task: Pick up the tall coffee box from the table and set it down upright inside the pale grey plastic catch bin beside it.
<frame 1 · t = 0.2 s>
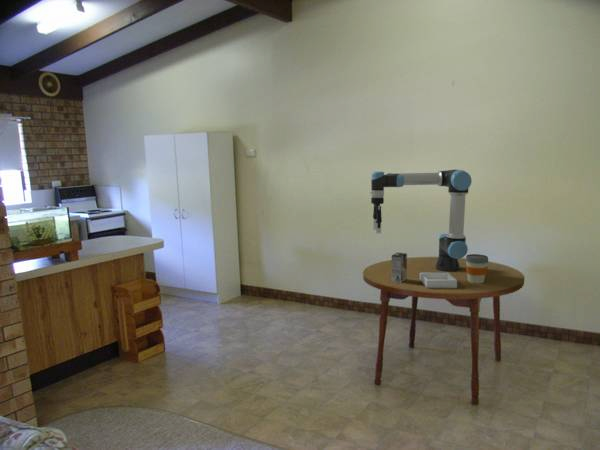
hand: (377, 231, 296), 28 cm above the table, tool pointing down, fingers open, 13 cm apart
coffee box: (398, 280, 287), on the table
catch bin: (437, 283, 279), on the table
reusable coffee cup: (475, 281, 284), on the table
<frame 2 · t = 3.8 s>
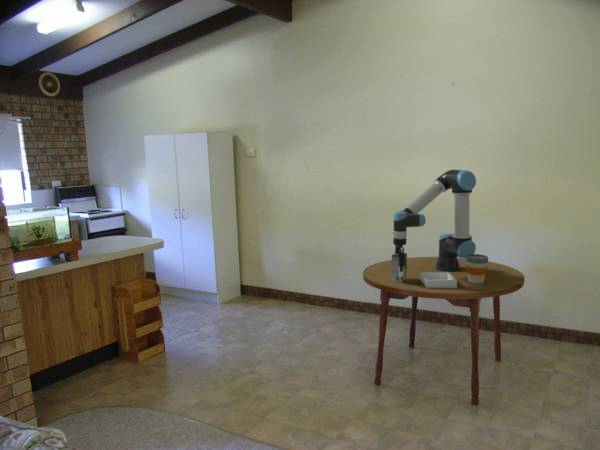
hand: (399, 274, 287), 4 cm above the table, tool pointing down, fingers closed on coffee box, 10 cm apart
coffee box: (398, 280, 287), on the table, touching gripper
everything else where it was.
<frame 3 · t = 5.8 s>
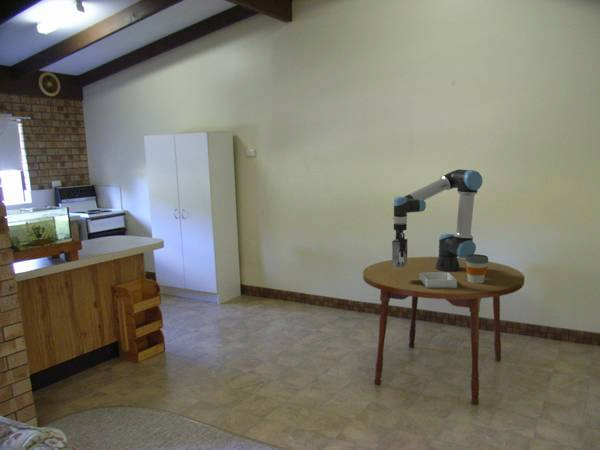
hand: (399, 259, 285), 13 cm above the table, tool pointing down, fingers closed on coffee box, 10 cm apart
coffee box: (399, 266, 286), point 8 cm above the table, touching gripper
everything else where it was.
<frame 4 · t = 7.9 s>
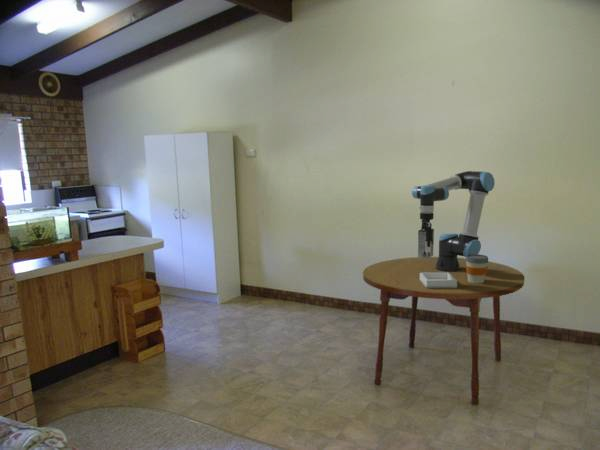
hand: (425, 250, 279), 20 cm above the table, tool pointing down, fingers closed on coffee box, 10 cm apart
coffee box: (425, 256, 280), point 15 cm above the table, touching gripper
everything else where it was.
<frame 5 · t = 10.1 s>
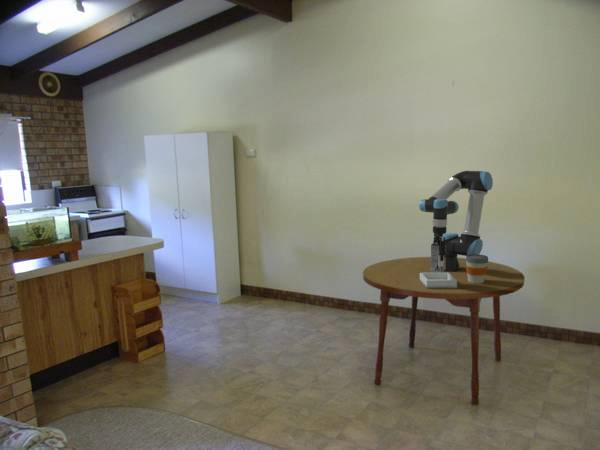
hand: (438, 263, 277), 12 cm above the table, tool pointing down, fingers closed on coffee box, 10 cm apart
coffee box: (437, 270, 278), point 8 cm above the table, touching gripper
everything else where it was.
when the fingers open (6 cm above the table, at t = 12.1 s): coffee box drops 1 cm, resting on catch bin.
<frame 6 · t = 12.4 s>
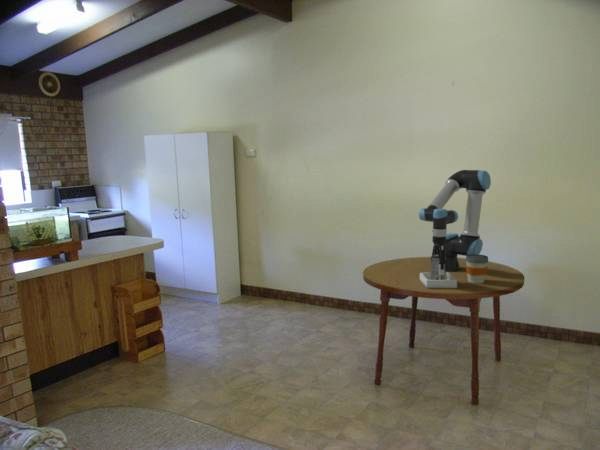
hand: (438, 271, 278), 7 cm above the table, tool pointing down, fingers open, 13 cm apart
coffee box: (437, 282, 279), point 1 cm above the table, touching catch bin
everything else where it was.
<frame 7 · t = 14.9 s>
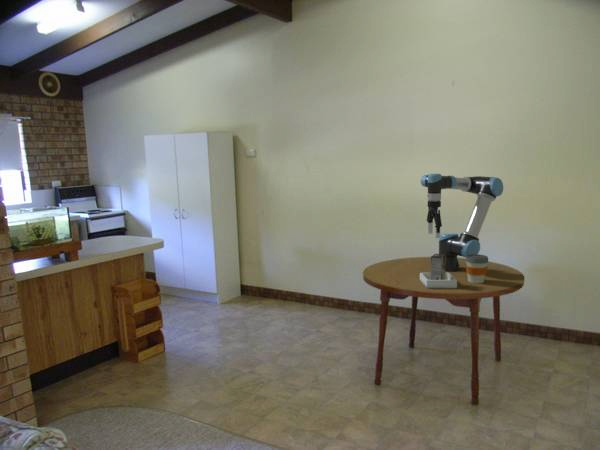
hand: (433, 235, 284), 27 cm above the table, tool pointing down, fingers open, 13 cm apart
nothing on the table moved.
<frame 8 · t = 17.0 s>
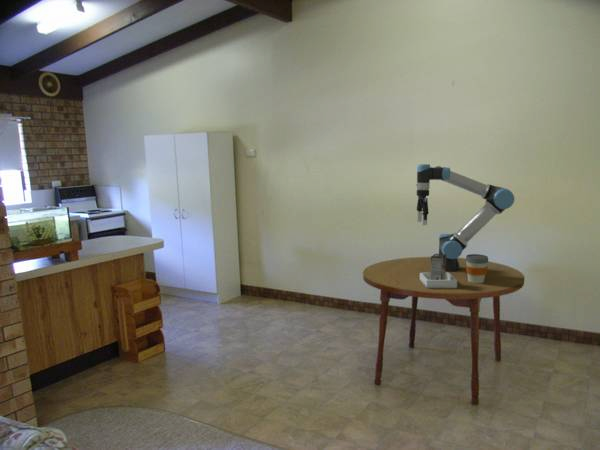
hand: (422, 223, 299), 32 cm above the table, tool pointing down, fingers open, 13 cm apart
nothing on the table moved.
at the end: coffee box inside the target area on the catch bin (0.1 cm from its centre), point 0.8 cm above the catch bin's base; coffee box tilted 0°; the gripper is holding nothing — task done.
